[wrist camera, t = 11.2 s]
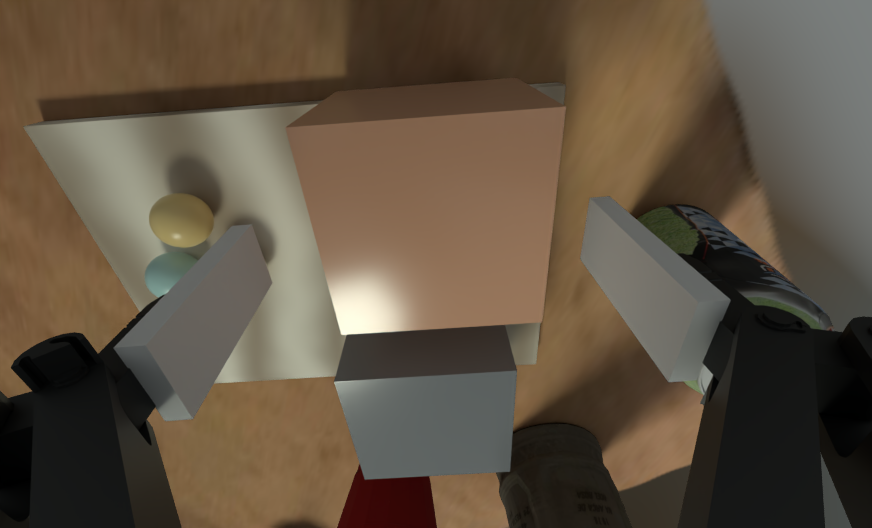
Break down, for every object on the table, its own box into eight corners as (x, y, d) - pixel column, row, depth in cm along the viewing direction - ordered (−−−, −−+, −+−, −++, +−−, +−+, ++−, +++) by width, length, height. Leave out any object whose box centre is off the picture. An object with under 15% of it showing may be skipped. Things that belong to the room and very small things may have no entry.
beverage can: (689, 273, 27) (850, 425, 17) (585, 281, 27) (681, 435, 17) (719, 190, 23) (942, 315, 13) (599, 199, 24) (729, 329, 13)
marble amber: (182, 233, 23) (152, 259, 20) (160, 186, 21) (124, 208, 19) (231, 230, 23) (206, 255, 20) (212, 183, 21) (182, 204, 19)
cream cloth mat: (193, 373, 31) (186, 385, 30) (43, 121, 20) (23, 126, 19) (532, 352, 31) (535, 363, 30) (558, 82, 20) (565, 85, 19)
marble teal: (176, 283, 25) (147, 313, 22) (155, 244, 23) (121, 271, 21) (220, 280, 25) (197, 309, 22) (202, 241, 23) (175, 267, 21)
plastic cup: (334, 409, 34) (295, 572, 24) (453, 415, 35) (463, 575, 25) (339, 475, 40) (309, 628, 30) (441, 478, 41) (445, 629, 30)
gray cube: (378, 377, 30) (364, 479, 23) (359, 286, 25) (334, 381, 19) (491, 371, 30) (509, 471, 23) (493, 278, 25) (516, 370, 18)
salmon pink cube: (366, 246, 24) (341, 334, 17) (336, 91, 19) (285, 127, 12) (509, 237, 23) (542, 322, 17) (516, 77, 19) (566, 106, 12)
